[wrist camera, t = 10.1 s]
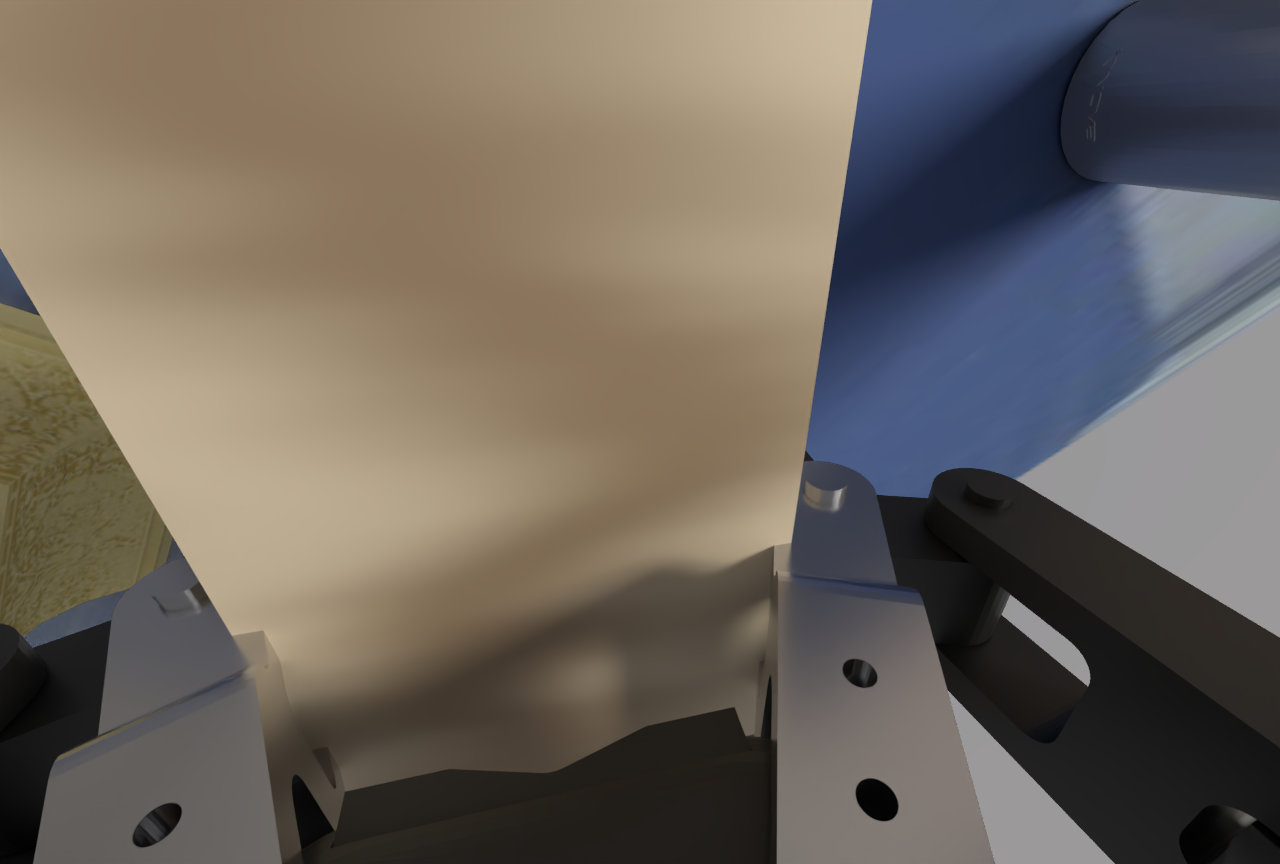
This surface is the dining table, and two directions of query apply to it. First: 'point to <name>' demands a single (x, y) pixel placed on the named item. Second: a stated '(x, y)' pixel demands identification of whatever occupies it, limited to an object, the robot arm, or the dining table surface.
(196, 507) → the two-tone block
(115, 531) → the seated figure statue
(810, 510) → the robot arm
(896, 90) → the dining table surface
